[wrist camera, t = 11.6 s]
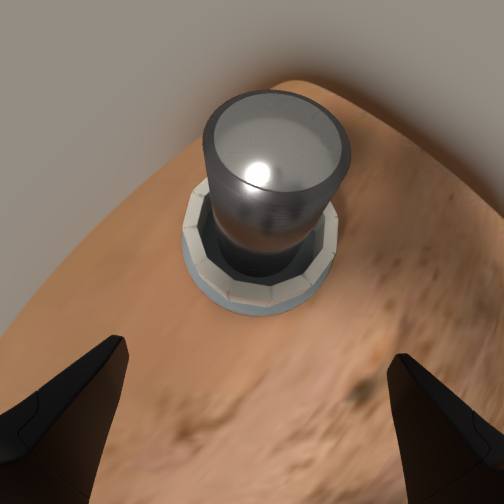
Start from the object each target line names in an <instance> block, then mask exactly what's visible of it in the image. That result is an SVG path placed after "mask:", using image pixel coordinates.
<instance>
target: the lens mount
mask: <svg viewBox="0 0 504 504" xmlns="http://www.w3.org/2000/svg"><path fill="white" fill-rule="evenodd" d="M337 216H338V215H337V213H336V211H335V209H334V207H333V205H332V203H331V201H330V202H329V203H328V205H327V207H326V208H325V210H324V211H323V213H322V215H321V216H320V218H319V219H318V221H317V223H316V224H315V226H314V227H313V229H312V231H311V232H310V234H309V235H308V237H307V238H306V240H305V242H304V243H303V245H302V246H301V248H300V249H299V251H298V253H297V254H296V256H295V257H294V259H293V260H292V262H291V263H290V264H289V265H288V266H287V267H286V268H285V269H284V270H282V271H281V272H279V273H277V274H275V275H272V276H269V277H262V278H257V277H250V276H246V275H243V274H241V273H239V272H237V271H236V270H234V269H233V268H232V267H230V266H229V265H228V263H227V262H226V261H225V260H224V258H223V256H222V254H221V252H220V249H219V245H218V239H217V234H216V228H215V222H214V216H213V210H212V203H211V197H210V191H209V184H208V178H205V179H204V180H203V181H202V182H201V183H200V184H199V185H198V186H197V187H196V188H195V189H194V190H193V193H191V197H190V200H189V204H188V208H187V211H186V215H185V219H184V223H183V226H182V227H183V232H182V250H183V256H184V260H185V263H186V266H187V268H188V271H189V273H190V275H191V276H192V278H193V280H194V282H195V283H196V284H197V286H198V287H199V288H200V290H201V291H202V292H203V293H204V294H205V295H206V296H207V297H208V298H209V299H211V300H212V301H213V302H215V303H216V304H218V305H219V306H221V307H223V308H225V309H227V310H229V311H232V312H235V313H238V314H242V315H246V316H256V317H257V316H271V315H277V314H280V313H283V312H286V311H289V310H291V309H293V308H295V307H297V306H298V305H300V304H301V303H303V302H304V301H306V300H307V299H308V298H309V297H311V296H312V295H313V294H314V293H315V292H316V291H317V290H318V288H319V287H320V286H321V285H322V283H323V282H324V280H325V278H326V277H327V274H328V272H329V270H330V267H331V264H332V260H333V258H334V256H335V255H334V254H335V253H336V248H337V232H338V218H336V217H337Z"/></svg>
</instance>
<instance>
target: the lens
mask: <svg viewBox="0 0 504 504" xmlns="http://www.w3.org/2000/svg"><path fill="white" fill-rule="evenodd" d="M202 145H203V151H204V158H205V165H206V171H207V178H208V184H209V191H210V197H211V203H212V210H213V216H214V222H215V228H216V234H217V239H218V245H219V249H220V252H221V254H222V256H223V258H224V260H225V261H226V262H227V263H228V265H229V266H230V267H232V268H233V269H234V270H236V271H237V272H239V273H241V274H243V275H246V276H250V277H257V278H262V277H269V276H272V275H275V274H277V273H279V272H281V271H282V270H284V269H285V268H286V267H287V266H288V265H289V264H290V263H291V262H292V260H293V259H294V257H295V256H296V254H297V253H298V251H299V249H300V248H301V246H302V245H303V243H304V242H305V240H306V238H307V237H308V235H309V234H310V232H311V231H312V229H313V227H314V226H315V224H316V223H317V221H318V219H319V218H320V216H321V215H322V213H323V211H324V210H325V208H326V207H327V205H328V203H329V202H330V200H331V199H332V197H333V195H334V194H335V192H336V190H337V189H338V187H339V185H340V184H341V182H342V181H343V179H344V177H345V175H346V174H347V171H348V169H349V166H350V161H351V148H350V143H349V140H348V137H347V134H346V132H345V130H344V128H343V127H342V125H341V124H340V122H339V121H338V120H337V119H336V118H335V117H334V116H333V115H332V114H331V113H330V112H329V111H328V110H327V109H326V108H324V107H323V106H321V105H320V104H318V103H317V102H315V101H313V100H311V99H309V98H307V97H304V96H302V95H299V94H296V93H292V92H287V91H281V90H258V91H251V92H248V93H244V94H241V95H238V96H236V97H234V98H232V99H230V100H228V101H226V102H225V103H224V104H222V105H221V106H220V107H219V108H217V109H216V110H215V111H214V113H213V114H212V115H211V116H210V118H209V120H208V122H207V123H206V126H205V129H204V133H203V144H202Z"/></svg>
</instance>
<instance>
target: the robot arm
mask: <svg viewBox="0 0 504 504" xmlns="http://www.w3.org/2000/svg"><path fill="white" fill-rule="evenodd" d="M128 361H129V353H128V349H127V345H126V341H125V338H124V337H122V336H118V335H111V336H109V337H108V338H107V339H105V340H104V341H103V342H101V343H100V344H99V345H97V346H96V347H94V348H93V349H92V350H90V351H89V352H88V353H86V354H85V355H84V356H82V357H81V358H80V359H78V360H77V361H75V362H74V363H73V364H71V365H70V366H69V367H67V368H66V369H65V370H63V371H62V372H61V373H59V374H58V375H57V376H55V377H54V378H53V379H51V380H50V381H49V382H47V383H46V384H45V385H43V386H42V387H41V388H39V389H38V391H35V392H34V393H33V394H31V395H30V396H29V397H27V398H26V399H24V400H23V401H22V402H20V403H19V404H17V405H16V406H14V407H13V408H11V409H9V410H8V411H6V412H4V413H3V414H1V415H0V504H89V499H90V496H91V492H92V488H93V484H94V481H95V477H96V473H97V470H98V466H99V463H100V459H101V456H102V453H103V449H104V446H105V443H106V440H107V436H108V433H109V430H110V427H111V424H112V421H113V418H114V415H115V412H116V409H117V406H118V403H119V400H120V396H121V391H122V387H123V382H124V378H125V373H126V369H127V365H128ZM387 381H388V388H389V396H390V404H391V411H392V417H393V421H394V426H395V430H396V435H397V440H398V445H399V450H400V455H401V461H402V466H403V472H404V478H405V484H406V491H407V498H408V504H504V435H503V434H502V433H501V432H499V431H498V430H497V429H495V428H494V427H493V426H491V425H490V424H489V423H488V422H486V421H485V420H484V419H483V418H482V417H481V416H479V415H478V414H477V413H476V412H475V411H474V410H473V411H472V409H471V408H470V407H469V406H468V405H467V404H466V403H465V402H463V401H462V400H461V399H460V398H459V397H458V396H457V395H455V394H454V393H453V392H452V391H451V390H450V389H448V388H447V387H446V386H445V385H444V384H443V383H442V382H440V381H439V380H438V379H437V378H436V377H435V376H433V375H432V374H431V373H430V372H429V371H428V370H426V369H425V368H424V367H423V366H422V365H420V364H419V363H418V362H417V361H416V360H415V359H413V358H412V357H411V356H410V355H409V354H407V353H401V354H396V355H395V357H394V358H393V360H392V362H391V364H390V366H389V368H388V370H387Z"/></svg>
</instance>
